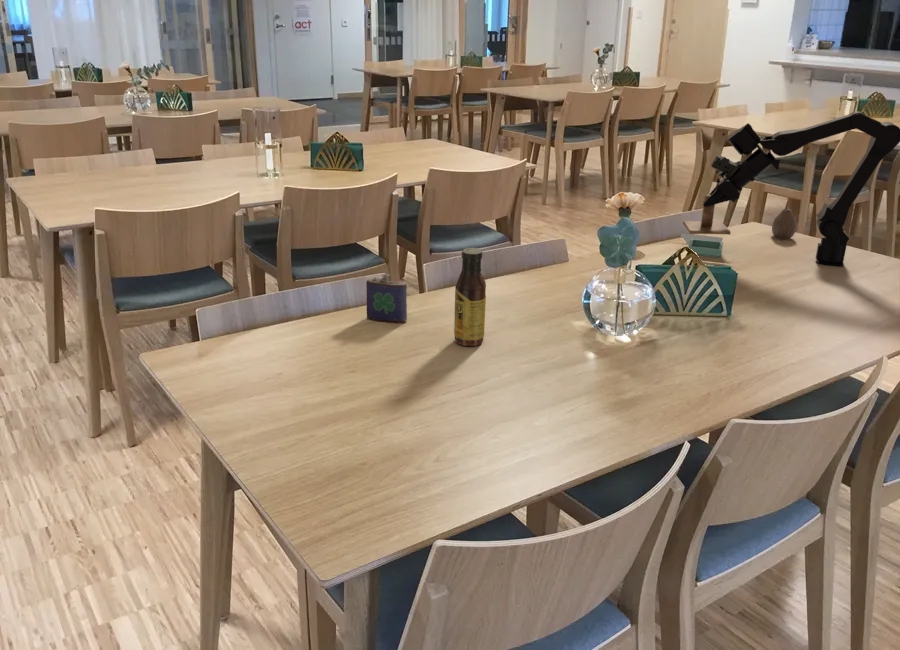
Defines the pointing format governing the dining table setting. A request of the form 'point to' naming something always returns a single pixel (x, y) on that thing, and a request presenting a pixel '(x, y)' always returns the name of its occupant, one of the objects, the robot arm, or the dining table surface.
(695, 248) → the dish
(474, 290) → the sauce bottle
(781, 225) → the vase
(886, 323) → the dining table surface
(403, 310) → the flask
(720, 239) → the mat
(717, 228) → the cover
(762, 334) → the dining table surface
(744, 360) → the dining table surface
